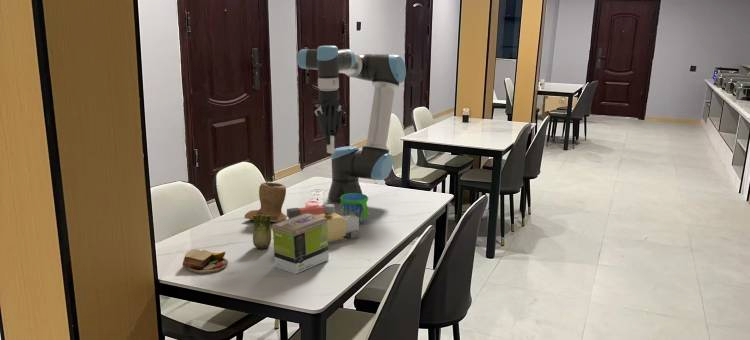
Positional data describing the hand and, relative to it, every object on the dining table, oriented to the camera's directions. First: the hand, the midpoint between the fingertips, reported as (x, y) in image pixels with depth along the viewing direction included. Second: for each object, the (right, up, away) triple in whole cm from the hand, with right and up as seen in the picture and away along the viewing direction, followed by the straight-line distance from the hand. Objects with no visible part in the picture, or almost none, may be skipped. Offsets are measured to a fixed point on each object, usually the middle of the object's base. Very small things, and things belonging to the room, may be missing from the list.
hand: (330, 152), depth 223 cm
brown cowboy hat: (-25, -26, +13) cm, 39 cm away
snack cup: (+8, -27, +11) cm, 30 cm away
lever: (-6, -22, -14) cm, 27 cm away
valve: (0, -31, -10) cm, 33 cm away
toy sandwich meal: (-37, -37, -33) cm, 62 cm away
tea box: (-7, -37, -30) cm, 48 cm away
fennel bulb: (-22, -33, -17) cm, 44 cm away
